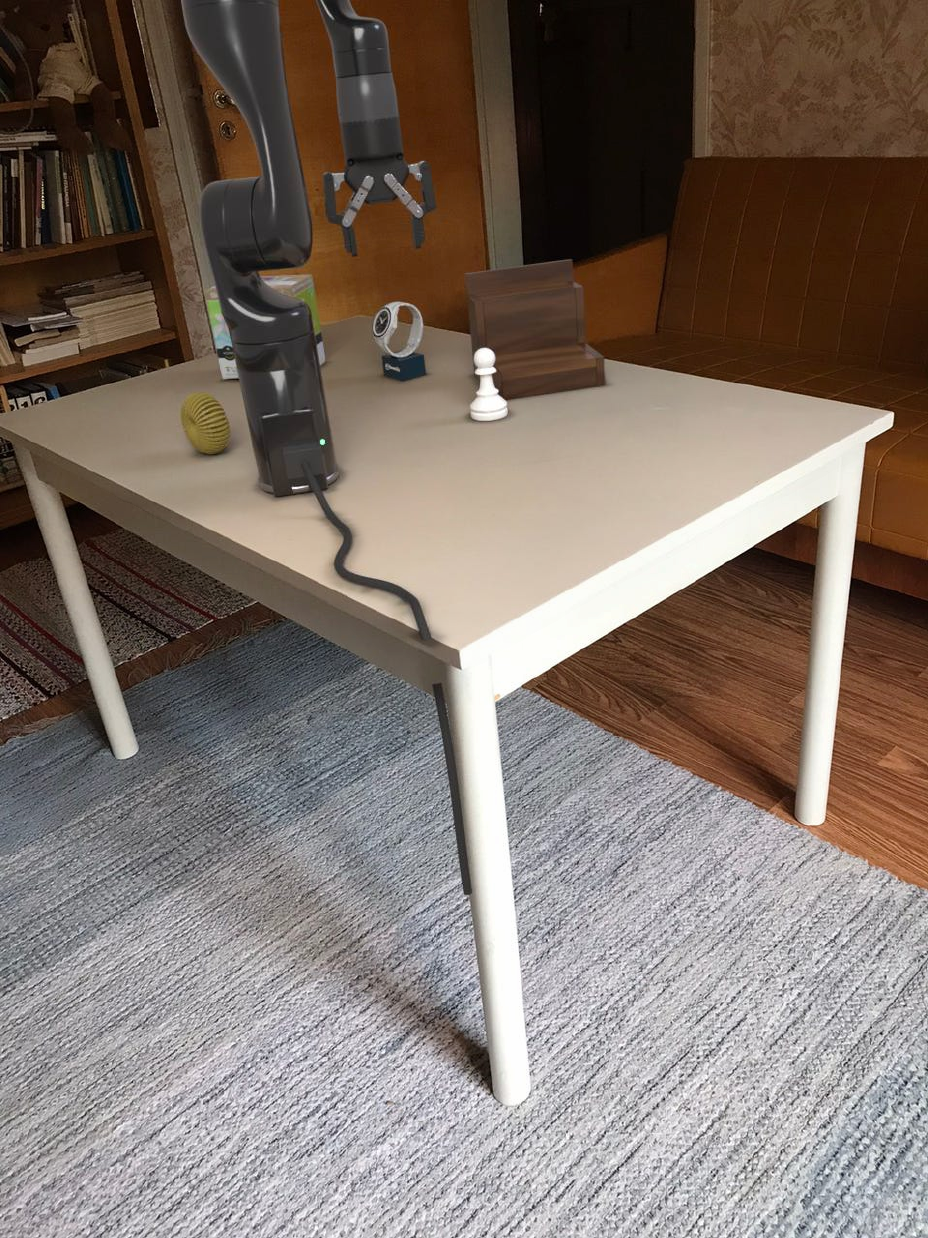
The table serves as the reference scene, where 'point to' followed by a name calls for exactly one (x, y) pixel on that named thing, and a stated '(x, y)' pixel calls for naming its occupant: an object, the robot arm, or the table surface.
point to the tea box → (286, 285)
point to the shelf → (532, 329)
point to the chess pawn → (487, 390)
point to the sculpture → (205, 423)
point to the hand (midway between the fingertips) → (386, 251)
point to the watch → (406, 360)
